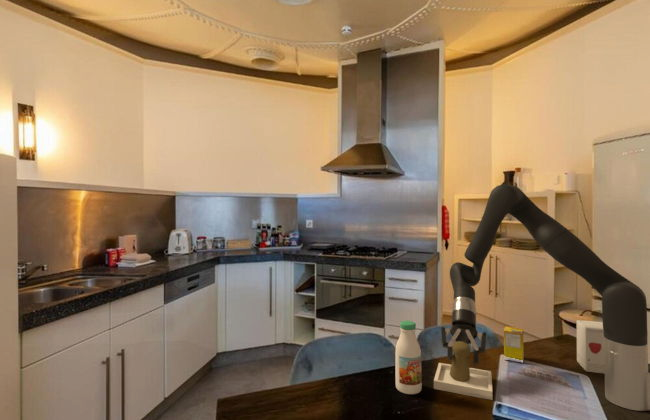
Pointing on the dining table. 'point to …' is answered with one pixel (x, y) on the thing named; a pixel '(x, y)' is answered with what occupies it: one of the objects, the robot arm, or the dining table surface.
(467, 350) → the cork
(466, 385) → the tray
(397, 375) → the milk bottle
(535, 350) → the dining table surface
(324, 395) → the dining table surface
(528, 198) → the robot arm
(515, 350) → the supplement box
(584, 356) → the supplement box
